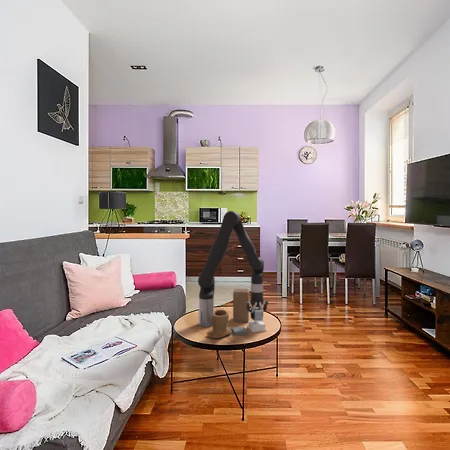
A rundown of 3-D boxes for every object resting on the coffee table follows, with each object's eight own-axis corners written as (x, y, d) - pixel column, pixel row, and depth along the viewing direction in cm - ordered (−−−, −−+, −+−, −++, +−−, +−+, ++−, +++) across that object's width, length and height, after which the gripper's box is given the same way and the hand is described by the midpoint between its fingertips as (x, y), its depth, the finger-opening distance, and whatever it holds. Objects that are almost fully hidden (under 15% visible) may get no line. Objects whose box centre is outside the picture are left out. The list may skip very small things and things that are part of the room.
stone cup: (217, 342, 193) (217, 315, 193) (204, 336, 202) (204, 310, 201) (237, 335, 203) (237, 310, 202) (223, 330, 212) (224, 305, 211)
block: (248, 318, 236) (249, 288, 235) (248, 322, 226) (248, 292, 225) (234, 317, 236) (234, 288, 236) (232, 322, 227) (233, 291, 226)
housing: (255, 321, 209) (255, 309, 209) (250, 317, 217) (250, 306, 216) (263, 321, 210) (263, 309, 210) (258, 317, 218) (258, 305, 218)
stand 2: (252, 332, 208) (252, 325, 208) (247, 327, 217) (247, 320, 217) (266, 330, 211) (266, 324, 210) (261, 326, 219) (261, 319, 219)
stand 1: (235, 335, 203) (235, 332, 203) (231, 330, 211) (231, 327, 210) (248, 334, 205) (248, 330, 205) (243, 329, 213) (243, 326, 213)
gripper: (247, 292, 207) (247, 321, 208) (270, 291, 211) (270, 319, 212) (243, 289, 214) (243, 317, 215) (265, 288, 218) (265, 315, 219)
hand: (256, 317), depth 213 cm, fingers closed on housing, 5 cm apart
